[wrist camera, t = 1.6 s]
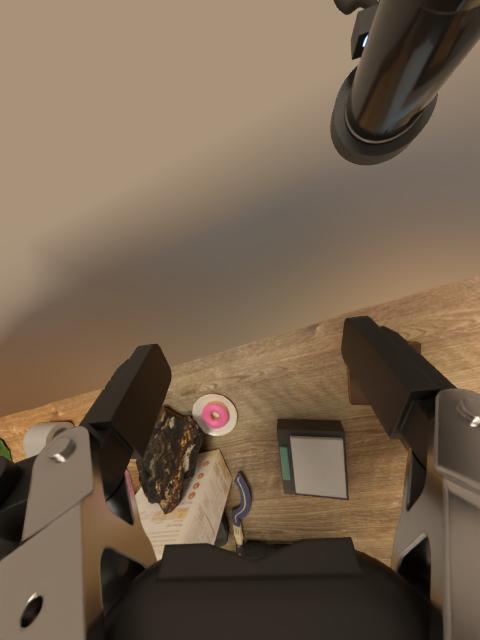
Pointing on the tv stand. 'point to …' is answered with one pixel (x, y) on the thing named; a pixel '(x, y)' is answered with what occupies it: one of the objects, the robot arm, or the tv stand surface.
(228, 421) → the donut
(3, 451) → the green leaf
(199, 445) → the fossil rock
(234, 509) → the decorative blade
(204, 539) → the coffeecake box
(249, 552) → the flashlight
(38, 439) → the sloped support bracket
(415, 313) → the tv stand surface
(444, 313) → the tv stand surface
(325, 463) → the scale
